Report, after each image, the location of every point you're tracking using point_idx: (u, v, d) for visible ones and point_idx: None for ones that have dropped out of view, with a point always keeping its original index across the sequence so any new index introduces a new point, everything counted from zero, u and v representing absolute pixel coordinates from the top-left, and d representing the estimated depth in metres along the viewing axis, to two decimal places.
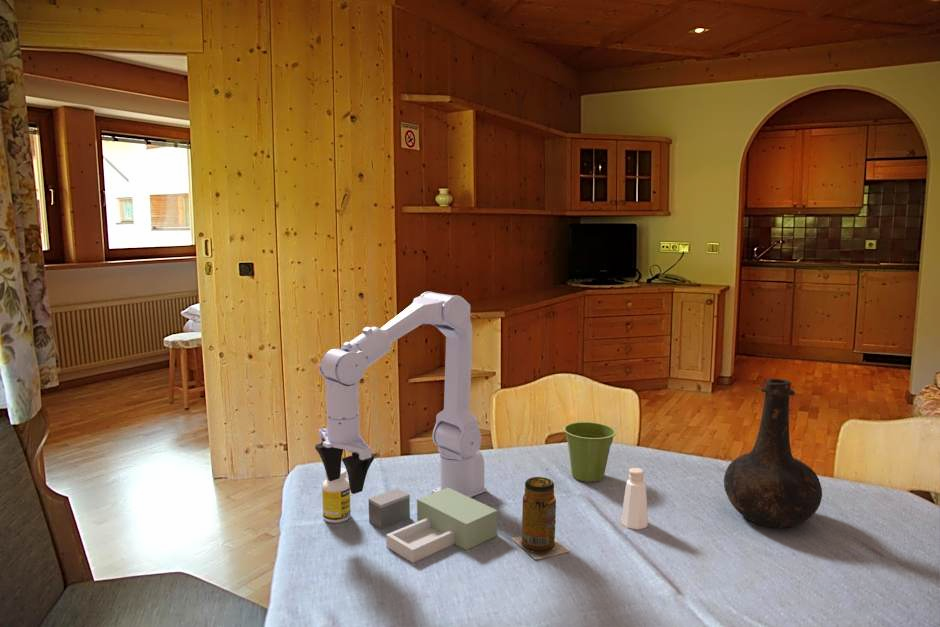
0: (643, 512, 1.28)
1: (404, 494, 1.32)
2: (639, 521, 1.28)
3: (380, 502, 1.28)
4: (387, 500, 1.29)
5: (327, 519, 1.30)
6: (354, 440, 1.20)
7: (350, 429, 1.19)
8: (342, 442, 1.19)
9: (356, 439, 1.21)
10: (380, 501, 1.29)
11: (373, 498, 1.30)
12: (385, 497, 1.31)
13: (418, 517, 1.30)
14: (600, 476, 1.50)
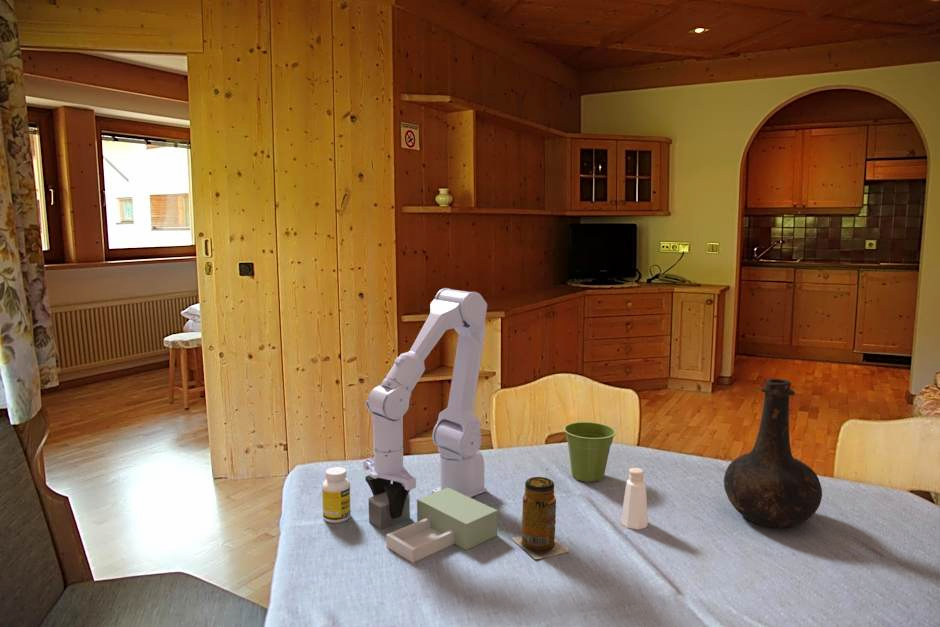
0: (643, 512, 1.28)
1: None
2: (639, 521, 1.28)
3: (380, 501, 1.28)
4: (387, 499, 1.29)
5: (327, 519, 1.30)
6: (399, 471, 1.28)
7: (396, 461, 1.27)
8: (388, 473, 1.27)
9: (401, 470, 1.29)
10: (380, 501, 1.29)
11: (373, 497, 1.30)
12: (385, 496, 1.31)
13: (418, 517, 1.30)
14: (600, 476, 1.50)
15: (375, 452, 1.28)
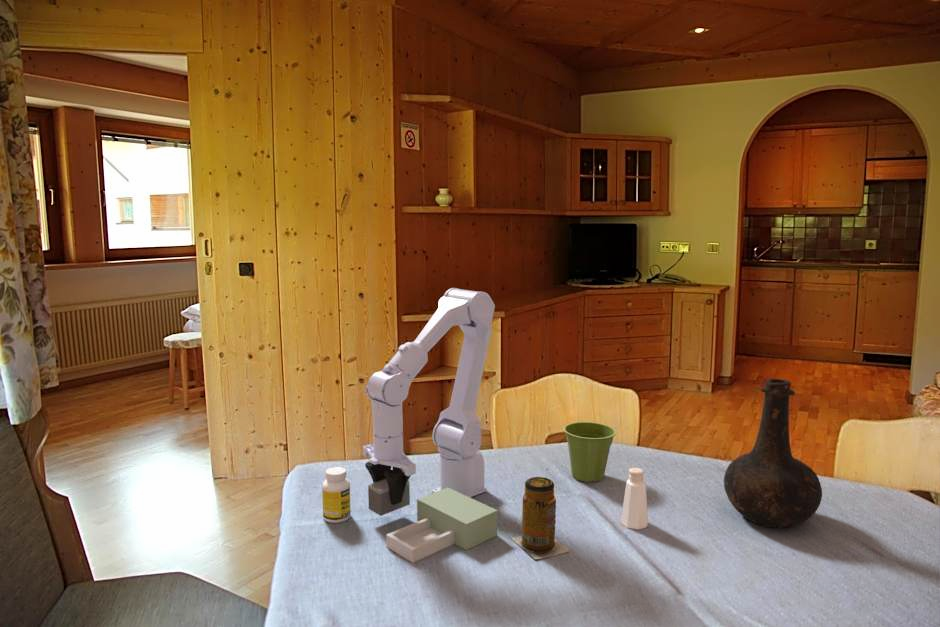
0: (643, 512, 1.28)
1: None
2: (639, 521, 1.28)
3: (380, 488, 1.28)
4: (387, 486, 1.29)
5: (327, 519, 1.30)
6: (399, 457, 1.28)
7: (396, 447, 1.27)
8: (388, 459, 1.27)
9: (400, 456, 1.28)
10: (379, 487, 1.28)
11: (373, 484, 1.30)
12: (385, 483, 1.30)
13: (418, 517, 1.30)
14: (600, 476, 1.50)
15: (375, 438, 1.27)
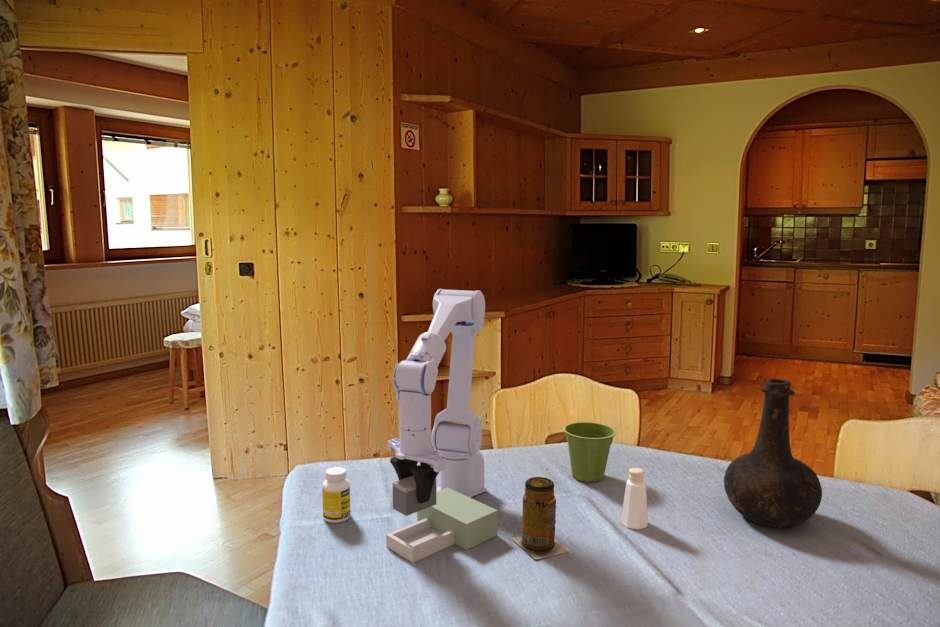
0: (643, 512, 1.28)
1: None
2: (639, 521, 1.28)
3: (405, 486, 1.19)
4: (413, 484, 1.20)
5: (327, 519, 1.30)
6: (427, 452, 1.19)
7: (424, 441, 1.18)
8: (415, 454, 1.18)
9: (429, 451, 1.19)
10: (405, 485, 1.19)
11: (397, 482, 1.21)
12: (410, 481, 1.21)
13: (418, 517, 1.30)
14: (600, 476, 1.50)
15: (401, 431, 1.18)
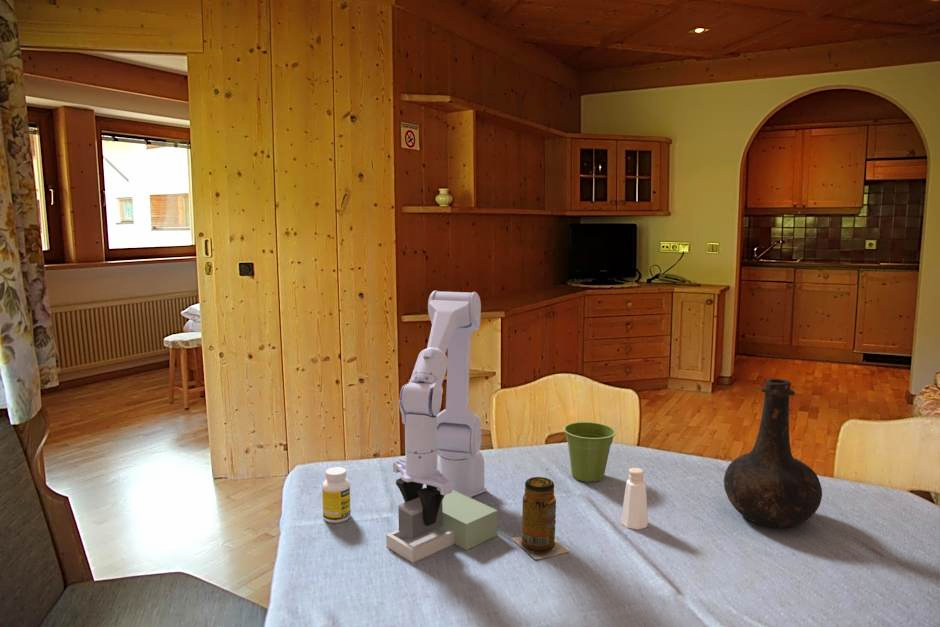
0: (643, 512, 1.28)
1: None
2: (639, 521, 1.28)
3: (411, 509, 1.18)
4: (419, 507, 1.19)
5: (327, 519, 1.30)
6: (433, 474, 1.18)
7: (430, 463, 1.17)
8: (422, 476, 1.17)
9: (435, 473, 1.19)
10: (411, 508, 1.18)
11: (403, 504, 1.20)
12: (416, 503, 1.20)
13: None
14: (600, 476, 1.50)
15: (407, 453, 1.18)
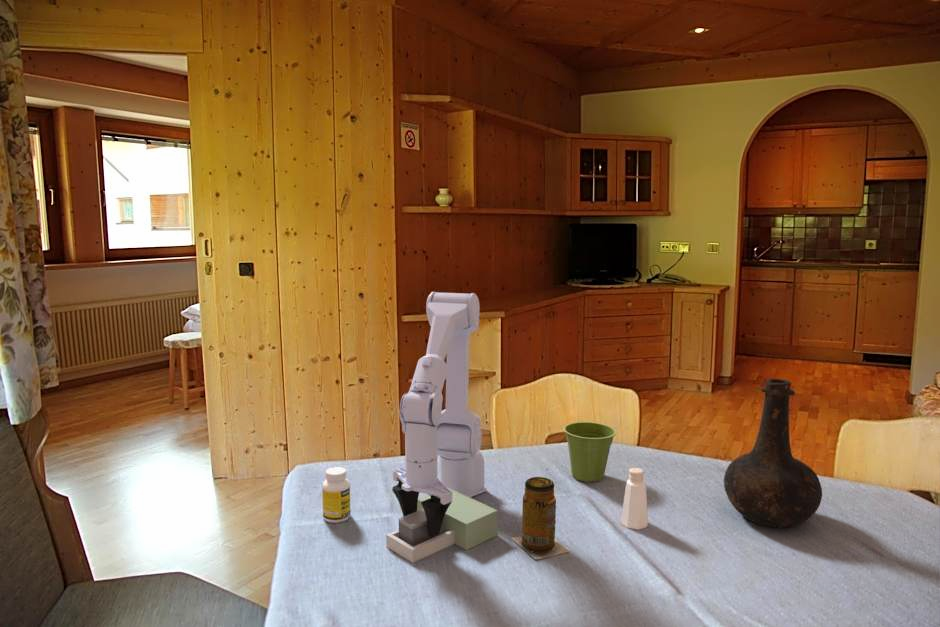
0: (643, 512, 1.28)
1: None
2: (639, 521, 1.28)
3: (411, 523, 1.18)
4: (419, 520, 1.19)
5: (327, 519, 1.30)
6: (433, 483, 1.18)
7: (430, 472, 1.18)
8: (422, 485, 1.17)
9: (435, 482, 1.19)
10: (411, 522, 1.19)
11: (403, 518, 1.20)
12: (416, 517, 1.21)
13: None
14: (600, 476, 1.50)
15: (408, 463, 1.18)
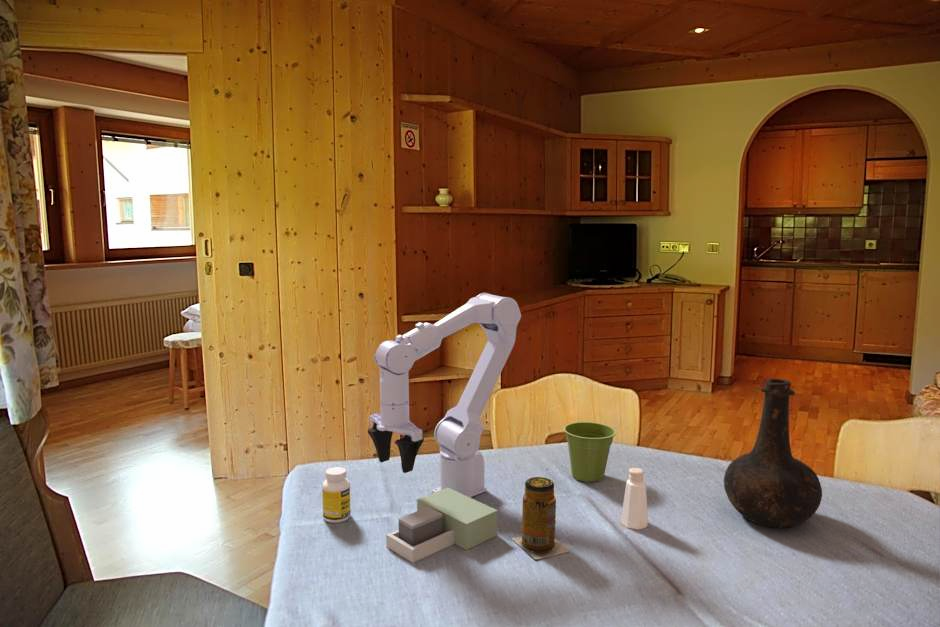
0: (643, 512, 1.28)
1: (437, 514, 1.22)
2: (639, 521, 1.28)
3: (411, 523, 1.18)
4: (419, 520, 1.19)
5: (327, 519, 1.30)
6: (405, 424, 1.32)
7: (402, 414, 1.31)
8: (395, 426, 1.31)
9: (407, 423, 1.32)
10: (411, 522, 1.19)
11: (403, 518, 1.20)
12: (416, 517, 1.21)
13: None
14: (600, 476, 1.50)
15: (382, 405, 1.31)
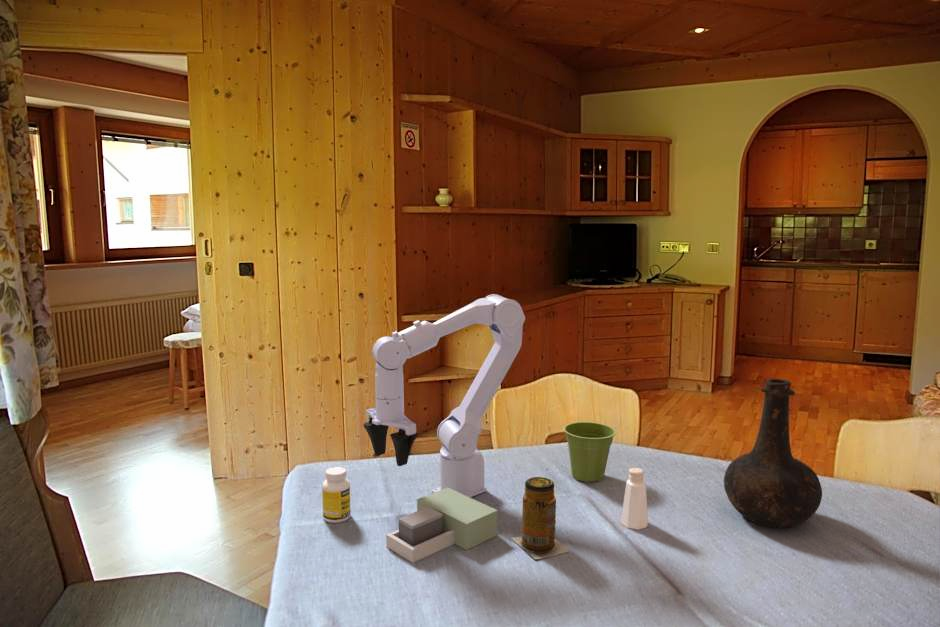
0: (643, 512, 1.28)
1: (437, 514, 1.22)
2: (639, 521, 1.28)
3: (411, 523, 1.18)
4: (419, 520, 1.19)
5: (327, 519, 1.30)
6: (400, 418, 1.35)
7: (397, 408, 1.34)
8: (389, 420, 1.34)
9: (401, 417, 1.35)
10: (411, 522, 1.19)
11: (403, 518, 1.20)
12: (416, 517, 1.21)
13: None
14: (600, 476, 1.50)
15: (377, 400, 1.34)
